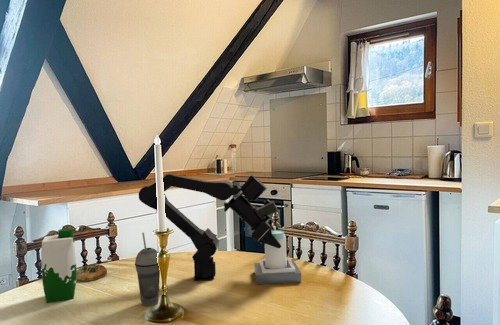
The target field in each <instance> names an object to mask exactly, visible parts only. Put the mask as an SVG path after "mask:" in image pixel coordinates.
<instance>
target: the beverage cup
mask: <svg viewBox="0 0 500 325" xmlns="http://www.w3.org/2000/svg"><path fill="white" fill-rule="evenodd" d="M145 237H146V236H145V232H142V240H143V249H141V250H140V251H139V252H138V253H137V254H136V257H135V260H134V261H135V262H134V266H135V270H136V273H137V280H138V281H137V282H138V288H139V295H140V296H139V297H140V300H141V305H142V306H143V307H152V306H156V305H157V304H158V303H159V295H160V294H159V293H160V275H161V274H160V273H161V272H160V271H161V269H160V270H159V266H158V263H157V258H156V257H157V253H159V251H157V250H156V249H155V248H154V247H147V243H146V238H145Z"/></svg>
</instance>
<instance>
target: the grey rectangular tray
mask: <svg viewBox="0 0 500 325" xmlns="http://www.w3.org/2000/svg"><path fill="white" fill-rule="evenodd" d="M253 264H254V266H253V267H254V268H253V269H254V276H255V281H256V284H257V285H275V284H295V283H296V284H297V283H302V272H301V270H300V268H299V267H298V265H297V263H296V262H295V260H294V261H292V260H291V258H287V266H286V267H285V268H278V269H268V268H267V267H266V266H265V259H260V260H259V262H255V263H253Z"/></svg>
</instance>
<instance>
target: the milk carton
mask: <svg viewBox="0 0 500 325" xmlns="http://www.w3.org/2000/svg"><path fill="white" fill-rule="evenodd" d="M57 233H58V234H54V235H47V236H44V238H43V239H42V241H41V249H40V250H41V252H40V256H41V258H40V260H41V276H42V277H41V278H42V280H41V281H42V287H43V288H42V289H43V293H44V298H45V303H46V304H51V303H55V302H61V301H66V300H67V301H68V300H72V299H73V300H74V297H75V293H76V291H75V290H76V284H77V281H76V276H77V253H76V252H77V251H76V244H75V235H74V228H70V227H68V228H60V229H58V230H57Z"/></svg>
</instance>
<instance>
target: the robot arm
mask: <svg viewBox="0 0 500 325" xmlns="http://www.w3.org/2000/svg"><path fill="white" fill-rule="evenodd" d="M162 178H163V182H164V192H166V191H167V190H169V189H170V188H171V187H174V188H178V189H184V190H189V191H194V192H200V193H203V194H206V195H208V196H210V197H212V198H214V199H218V200H220V201H227V200H229V201H227V202H224V203H223V208H224V212H227V211H228V210H229V209H231V210H232V211H233V212H234V213H235V214H236V215H237V216H238V217H239V218H241V222H242V223H245V224H246V225H247V226H248V227H250V230H251V231H252V232H251V238H252V239H253V240H254V241H255V242H258V243H263V244H264V245H265V244H268V245H271V246H273V247H276V248H280V247H281V245H280V243H279V242H278V241H277V239H276V238H275V237H274V235H273V234H272V232H271V230H276V229H275V228H274V226H273V221H272V220H273V219H272V218H271V217H272V216H271V215H272V214H275V213H277V212H278V207H277V205H276V204H275V201H274V200H272V201H271V200H269V199H266V200H264V201H263V205H261V206H260V207H258V206H257V205H253V204H252V203H250V202H251V201H255V202H256V201H257V200H258V198H260V196H262V194H264V193H265V191H266V190H267V189H268V188H267V186H266V185H265V184H264V183H263V182H262V181H261V180H258V179H257V178H256V177H255V176H254V175H252V174H251V175H250V176H249V177H248V178H247V180H246V181H245V182H244V183H243V184H242V185H234V184H232V183H231V181H227V180H226V181H224V180H210V181H209V180H203V179H198V178H193V177H188V176H182V175H177V174H175V173H168V174H165V175H164V176H163V177H162ZM156 182H157V181H155V182H154V183H153V184H150V185H145V186H142V187H141V189H139V191H138V199H139V202H141V203H143V204H144V205H145V206H147V207H148V208H151V209H154V210H156V211H158V210H157V197H156ZM240 192H241V193H240ZM238 194H239V195H238ZM164 195H165V213H166V218H167V220H169V221H170V222H171V223H172V224H173V225H174V226H176V227H177V228H178V229H179V230H180V231H181V232H182V233H184V234H185V235H186V236H187V237H188V238H189V239H190V240H191V242H192V244H193V245H194V248H195V249H196V251H195V253H194V254H193V255H192V258H191V259H192V260H193V264H194V265H193V266H194V268H193V269H194V278H193V281H209V280H211V281H213V280H214V279H215V277H216V271H217V270H216V269H217V268H216V261H214V255H215V254H216V252H217V251H218V249H219V247H220V241H219V238H218V237H217V236H218V235H217V234H215V233H214V232H213V231H211V229H210V228H208V227H207V228H206V229H205V230H204V229H201V228H200V227H199V226H197V225H196V224H195V223H194V222H193V221H192V220H191V219H190V218H188V217H187V216H186V215H185V214H184V213H183V212H182V211H180V210H179V209H178V208H177V207H176V206H174V205H173V203H171V202H170V201H169V198H167V195H166V194H165V193H164ZM236 195H238V196H237V197H236ZM231 197H232V198H231ZM249 201H250V202H249Z"/></svg>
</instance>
